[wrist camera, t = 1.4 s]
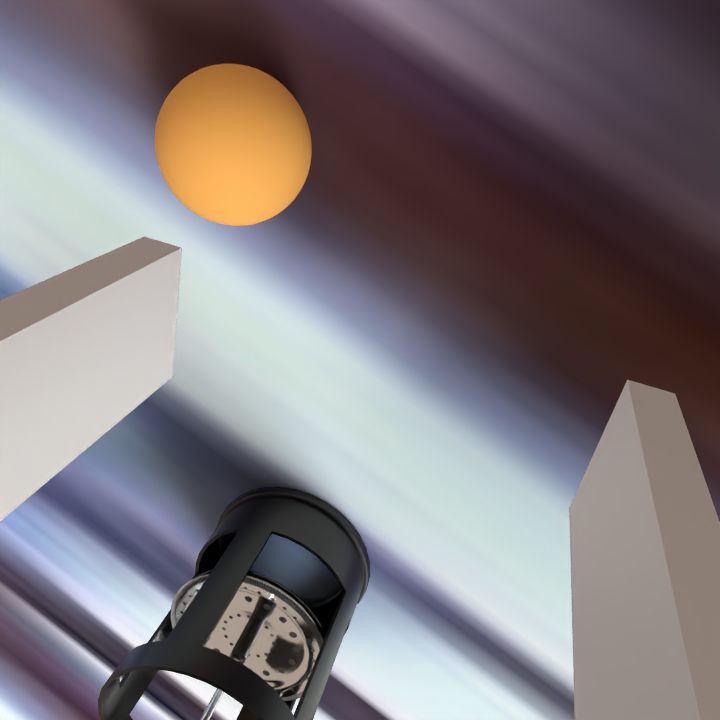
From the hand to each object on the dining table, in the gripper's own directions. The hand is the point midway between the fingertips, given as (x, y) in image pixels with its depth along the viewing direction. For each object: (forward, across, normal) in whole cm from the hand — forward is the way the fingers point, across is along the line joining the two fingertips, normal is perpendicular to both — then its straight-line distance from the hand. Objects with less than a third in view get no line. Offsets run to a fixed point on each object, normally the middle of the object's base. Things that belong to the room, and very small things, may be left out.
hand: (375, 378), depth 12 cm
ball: (+14, +10, 0) cm, 17 cm away
